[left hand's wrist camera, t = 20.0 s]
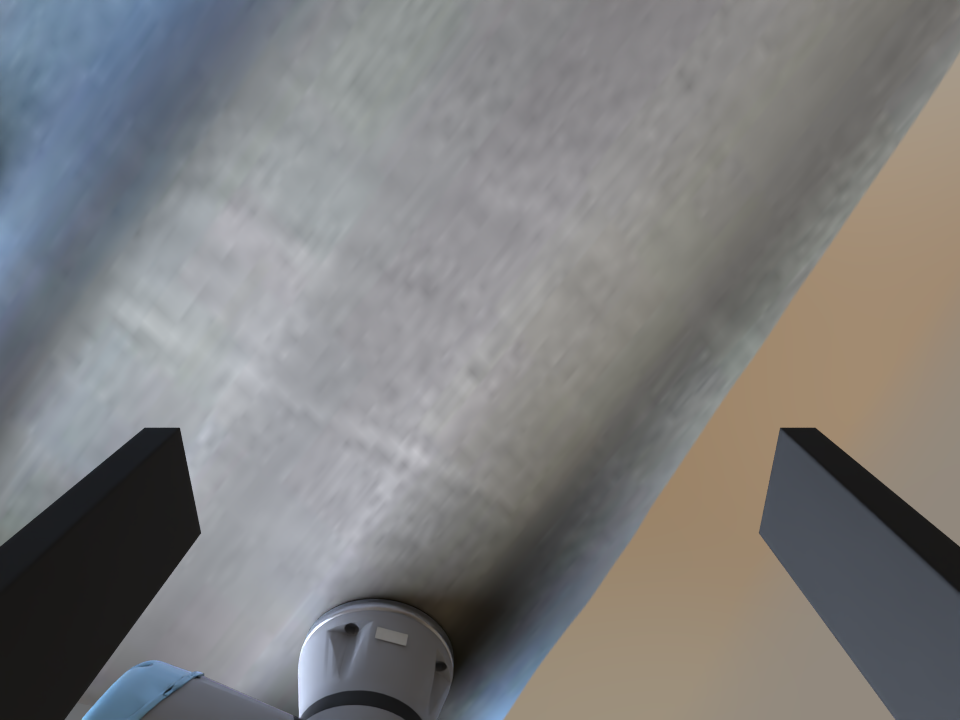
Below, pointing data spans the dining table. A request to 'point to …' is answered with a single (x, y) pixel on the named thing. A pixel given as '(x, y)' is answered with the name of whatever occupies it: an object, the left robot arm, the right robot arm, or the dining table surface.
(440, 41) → the dining table surface
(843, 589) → the left robot arm
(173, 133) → the dining table surface
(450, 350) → the dining table surface
